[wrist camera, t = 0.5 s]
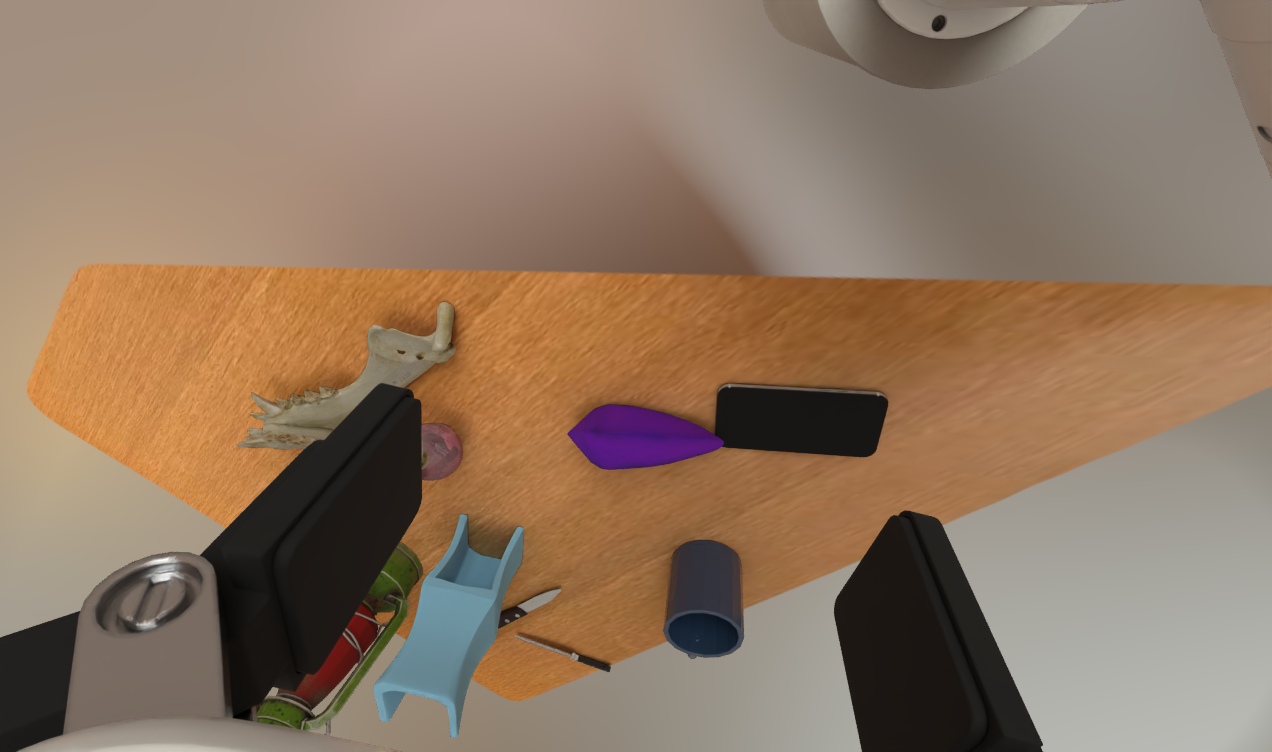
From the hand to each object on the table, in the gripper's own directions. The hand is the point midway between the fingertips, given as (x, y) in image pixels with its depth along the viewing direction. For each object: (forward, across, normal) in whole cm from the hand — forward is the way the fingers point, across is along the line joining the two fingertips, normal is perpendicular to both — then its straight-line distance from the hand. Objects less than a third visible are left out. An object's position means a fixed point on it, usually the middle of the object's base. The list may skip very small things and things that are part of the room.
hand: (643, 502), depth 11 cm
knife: (+36, +1, +67) cm, 76 cm away
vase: (+37, +13, +49) cm, 63 cm away
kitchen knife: (+36, +9, +61) cm, 72 cm away
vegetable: (+36, +18, +32) cm, 52 cm away
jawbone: (+34, +24, +33) cm, 53 cm away
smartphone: (+36, -15, +20) cm, 44 cm away
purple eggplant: (+36, -2, +25) cm, 44 cm away
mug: (+36, -13, +45) cm, 59 cm away
